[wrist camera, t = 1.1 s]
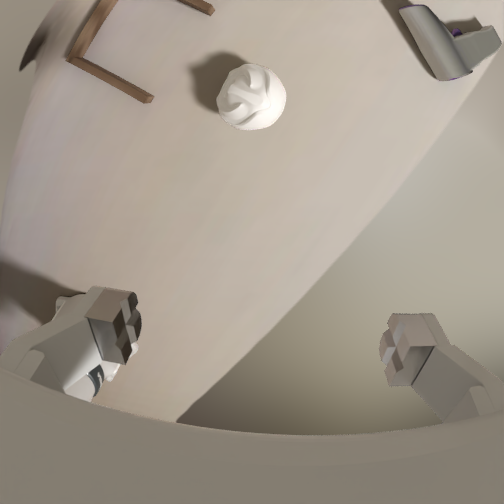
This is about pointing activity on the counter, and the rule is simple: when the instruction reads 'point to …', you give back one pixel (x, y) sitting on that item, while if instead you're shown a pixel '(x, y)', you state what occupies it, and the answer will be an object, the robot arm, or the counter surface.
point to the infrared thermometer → (448, 43)
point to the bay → (77, 59)
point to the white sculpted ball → (251, 97)
